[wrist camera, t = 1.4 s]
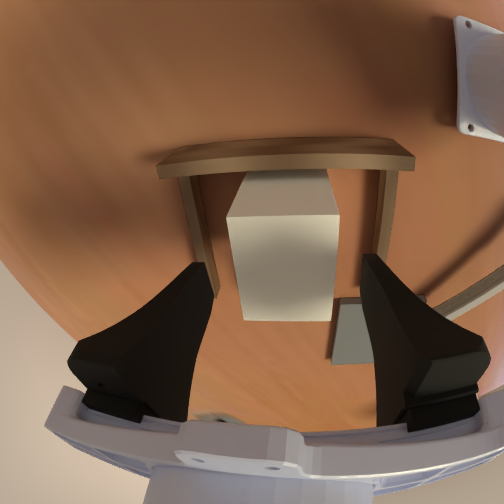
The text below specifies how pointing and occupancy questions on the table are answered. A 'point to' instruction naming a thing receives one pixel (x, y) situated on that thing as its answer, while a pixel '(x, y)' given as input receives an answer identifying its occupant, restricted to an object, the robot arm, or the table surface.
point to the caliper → (473, 295)
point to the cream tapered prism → (285, 244)
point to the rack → (278, 158)
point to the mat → (352, 334)
